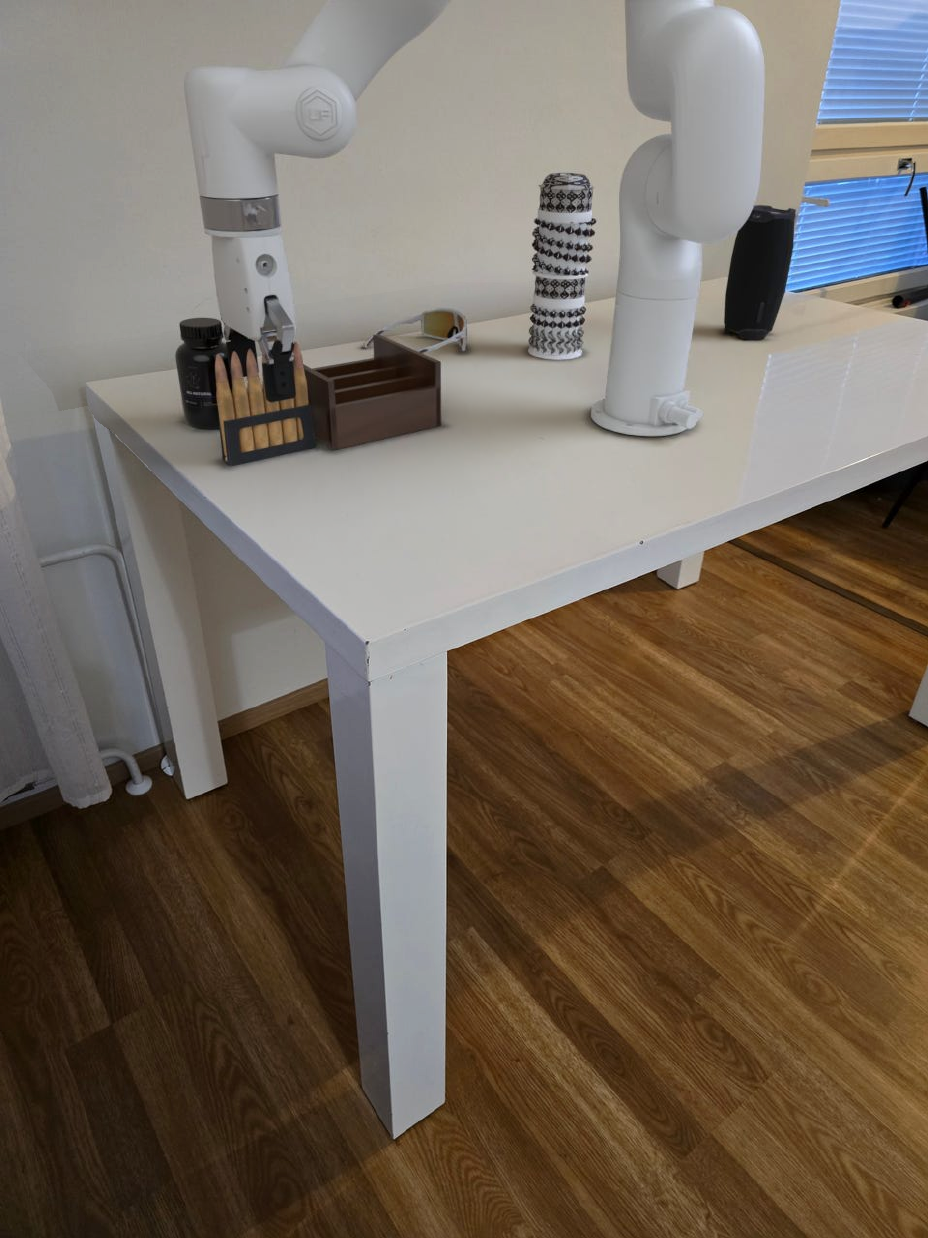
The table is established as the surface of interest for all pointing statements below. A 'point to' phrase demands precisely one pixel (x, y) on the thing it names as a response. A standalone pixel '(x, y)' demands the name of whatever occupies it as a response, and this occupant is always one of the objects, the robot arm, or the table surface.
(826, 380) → the table surface
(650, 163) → the robot arm
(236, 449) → the ammunition clip
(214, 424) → the supplement bottle
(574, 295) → the decorative candle
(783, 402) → the table surface
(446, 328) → the sunglasses
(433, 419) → the rack
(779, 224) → the portable speaker
